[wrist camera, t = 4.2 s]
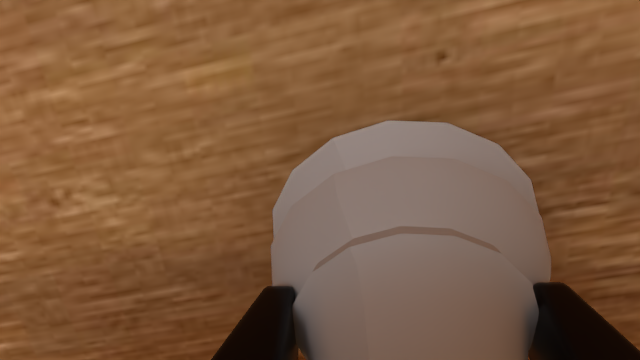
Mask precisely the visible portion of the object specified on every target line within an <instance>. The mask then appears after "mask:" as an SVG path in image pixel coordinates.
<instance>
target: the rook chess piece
mask: <svg viewBox="0 0 640 360" xmlns="http://www.w3.org/2000/svg"><path fill="white" fill-rule="evenodd" d="M273 233H274V241H273V242H272V244H271V265H272V286H291V287H293V289H294V293H295V302H294V303H293V305H292V311H293V321H294V330H295V339H296V344H297V345H298V347H299V349H300V350H301V352H302V353H303V355H304V357H305V358H306V360H528V350H529V349H530V347H531V344H532V341H533V337H534V333H535V329H536V325H537V321H538V315H539V309H538V305H537V301H536V298H535V294H534V290H533V286H534V284H536V283H539V282H549V281H550V278H551V255H550V251H549V247H548V242H547V238H546V234H545V230H544V225H543V221H542V217H541V216H540V214H539V211H538V207H537V203H536V199H535V194H534V190H533V186H532V182H531V179H530V178H529V177H528V176H527V175H526V174H525V173H524V172H523V170H522V169H521V168H520V167H519V166H518V165H517V164H516V163H515V162H514V161H513V160H512V158H511V157H510V156H509V155H508V154H507V153H506V152H505V151H504V150H503V149H502V148H501V146H500V145H499V144H497V143H494V142H492V141H490V140H487V139H485V138H483V137H480V136H478V135H475V134H473V133H471V132H468V131H466V130H464V129H461V128H459V127H457V126H454V125H452V124H449V123H442V122H415V121H385V122H382V123H379V124H375V125H372V126H369V127H366V128H363V129H359V130H356V131H353V132H350V133H347V134H344V135H340V136H337V137H334V138H332V139H331V140H330V141H328V142H327V143H326V144H325V145H323V146H322V147H321V148H320V149H318V150H317V151H316V152H315V153H313V154H312V155H311V156H310V157H308V158H307V159H306V160H305V161H303V162H302V163H301V164H300V165H298V166H297V167H296V168H295V169H293V170H292V172H291V174H290V176H289V178H288V180H287V182H286V184H285V186H284V188H283V190H282V192H281V194H280V196H279V198H278V200H277V202H276V204H275V206H274V208H273Z"/></svg>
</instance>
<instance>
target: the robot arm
mask: <svg viewBox="0 0 640 360" xmlns="http://www.w3.org/2000/svg"><path fill="white" fill-rule="evenodd" d="M533 290H534V294H535V298H536V301H537V305H538V309H539V315H538V321H537V325H536V329H535V333H534V337H533V341H532V344H531V347H530V349H529V350H528V353H529V358H530V360H640V351H639V350H638V349H637V348H636V347H635V346H634V345H633V344H631V343H630V342H629V341H628V340H627V339H626V338H625V337H624V336H623V335H621V334H620V333H619V332H618V331H617V330H616V329H615V328H614V327H613V326H612V325H610V324H609V323H608V322H607V321H606V320H605V319H604V318H603V317H602V316H601V315H599V314H598V313H597V312H596V311H595V310H594V309H593V308H592V307H591V306H590V305H588V304H587V303H586V302H585V301H584V300H583V299H582V298H581V297H580V296H579V295H577V294H576V293H575V292H574V291H573V290H572V289H571V288H570V287H569V286H567V285H566V284H564V283H561V282H539V283H536V284H534V286H533ZM294 302H295V293H294V289H293V287H291V286H267V287H266V288H264V289H263V291H262V292H261V293H260V295H259V296H258V297H257V299H256V300H255V301H254V303H253V304H252V305H251V307H250V308H249V309H248V311H247V312H246V313H245V315H244V316H243V317H242V319H241V320H240V321H239V323H238V324H237V325H236V327H235V328H234V329H233V331H232V332H231V334H230V335H229V336H228V338H227V339H226V340H225V342H224V343H223V344H222V346H221V347H220V348H219V350H218V351H217V352H216V354H215V355H214V356H213V358H212V359H211V360H298V351H299V347H298V345H297V344H296V339H295V330H294V321H293V311H292V305H293V303H294Z"/></svg>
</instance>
